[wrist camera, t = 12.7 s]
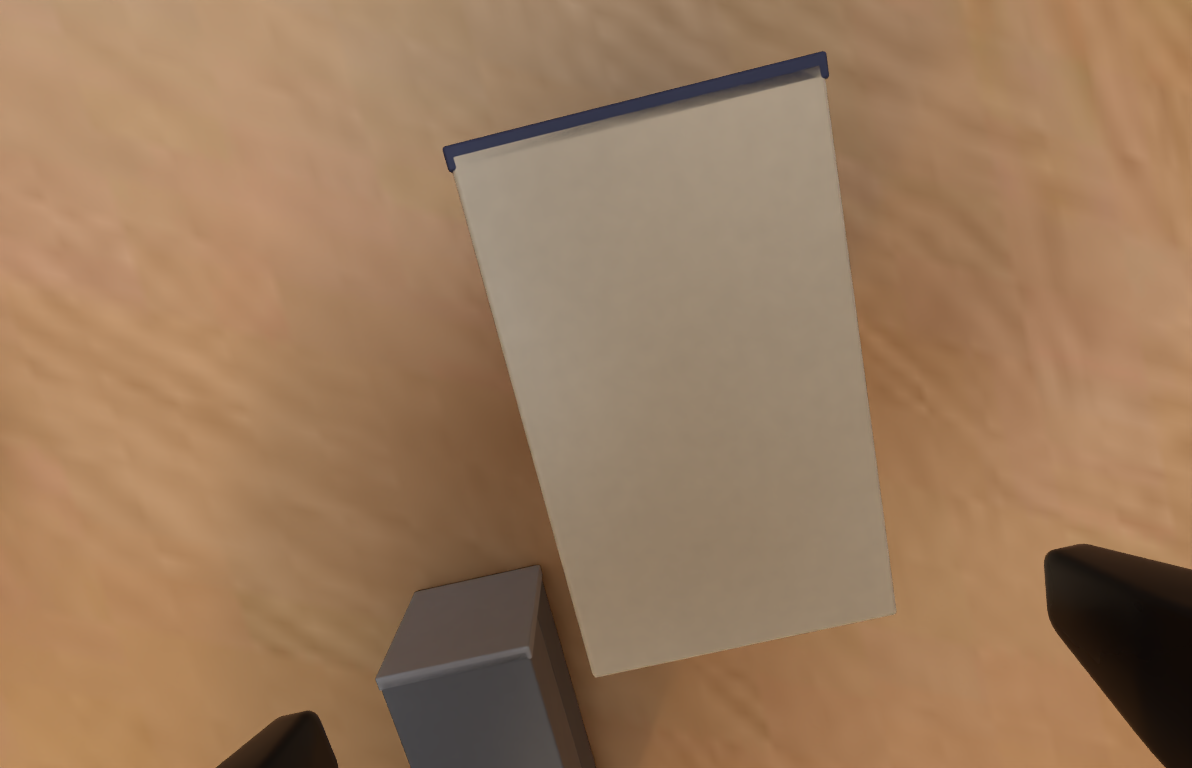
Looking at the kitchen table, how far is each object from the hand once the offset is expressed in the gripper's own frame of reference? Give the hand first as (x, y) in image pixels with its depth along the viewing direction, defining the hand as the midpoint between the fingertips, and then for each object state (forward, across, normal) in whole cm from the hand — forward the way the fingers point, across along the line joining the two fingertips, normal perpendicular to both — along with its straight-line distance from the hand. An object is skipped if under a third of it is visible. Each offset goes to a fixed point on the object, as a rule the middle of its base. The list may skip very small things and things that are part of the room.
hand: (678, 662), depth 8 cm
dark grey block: (+12, +6, +10) cm, 16 cm away
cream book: (+6, -1, -2) cm, 7 cm away
